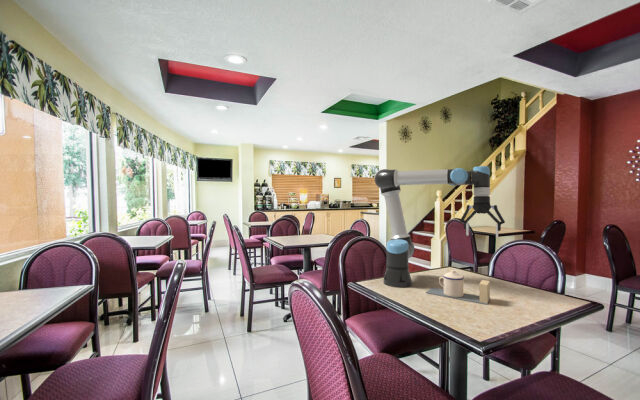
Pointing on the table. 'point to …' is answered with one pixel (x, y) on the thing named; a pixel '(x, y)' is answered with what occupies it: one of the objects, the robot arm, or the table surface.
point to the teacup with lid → (452, 284)
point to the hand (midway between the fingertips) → (481, 236)
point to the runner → (481, 299)
